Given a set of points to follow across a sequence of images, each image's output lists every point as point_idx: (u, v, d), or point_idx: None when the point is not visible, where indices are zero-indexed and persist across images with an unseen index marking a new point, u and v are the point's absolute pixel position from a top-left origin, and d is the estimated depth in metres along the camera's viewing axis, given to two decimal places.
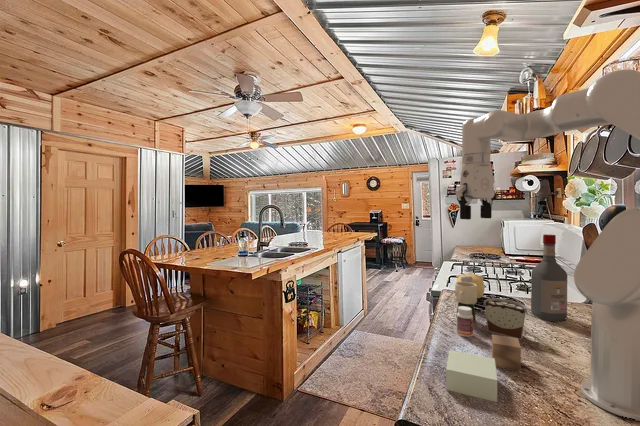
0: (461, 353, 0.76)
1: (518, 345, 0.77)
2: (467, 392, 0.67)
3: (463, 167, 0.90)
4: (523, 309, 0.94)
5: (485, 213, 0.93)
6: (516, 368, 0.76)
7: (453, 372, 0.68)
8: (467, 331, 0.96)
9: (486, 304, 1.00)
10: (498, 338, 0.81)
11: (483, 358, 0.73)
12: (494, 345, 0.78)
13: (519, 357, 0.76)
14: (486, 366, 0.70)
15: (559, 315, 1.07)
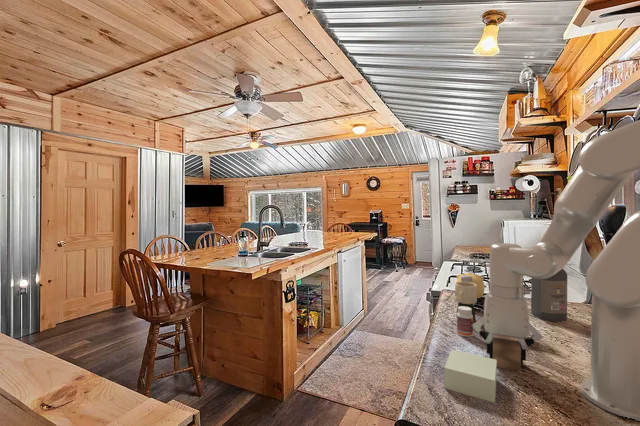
0: (463, 353, 0.76)
1: (518, 345, 0.77)
2: (465, 391, 0.67)
3: (526, 301, 0.77)
4: None
5: None
6: (516, 368, 0.76)
7: (451, 371, 0.69)
8: (467, 331, 0.96)
9: None
10: (498, 338, 0.81)
11: (484, 359, 0.73)
12: (494, 345, 0.78)
13: (519, 356, 0.76)
14: (486, 367, 0.69)
15: (559, 315, 1.07)
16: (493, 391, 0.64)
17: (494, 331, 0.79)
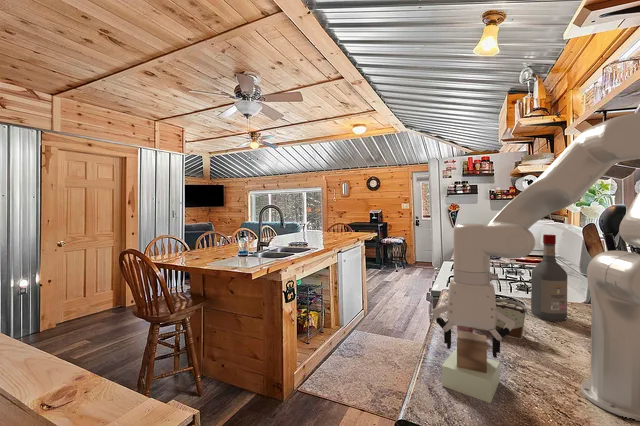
0: None
1: (484, 343, 0.68)
2: (462, 390, 0.68)
3: (492, 288, 0.68)
4: (523, 309, 0.94)
5: None
6: (482, 369, 0.67)
7: (448, 369, 0.69)
8: (467, 331, 0.96)
9: None
10: (464, 335, 0.72)
11: (487, 360, 0.72)
12: (458, 343, 0.69)
13: (485, 356, 0.67)
14: None
15: (559, 315, 1.07)
16: (489, 392, 0.64)
17: (458, 322, 0.70)
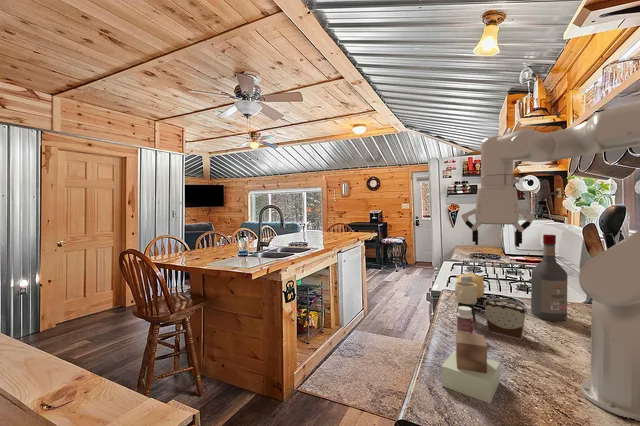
0: None
1: (484, 343, 0.68)
2: (461, 391, 0.68)
3: (515, 189, 0.80)
4: (523, 309, 0.94)
5: None
6: (482, 370, 0.67)
7: (448, 370, 0.69)
8: (467, 331, 0.96)
9: (486, 304, 1.00)
10: (462, 336, 0.72)
11: (487, 361, 0.72)
12: (458, 344, 0.69)
13: (485, 357, 0.67)
14: None
15: (559, 315, 1.07)
16: (489, 392, 0.64)
17: (485, 220, 0.83)
